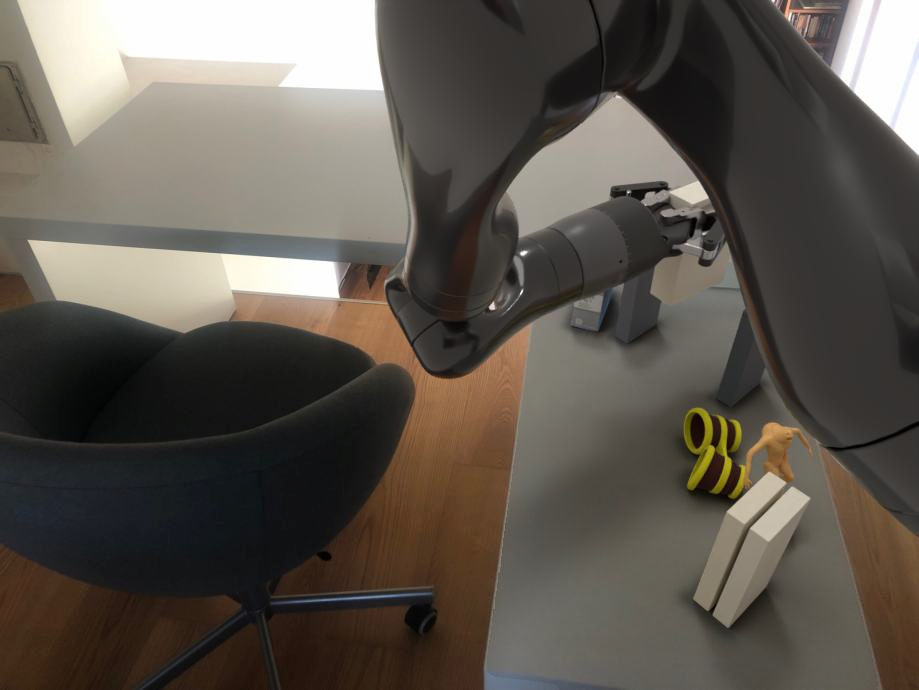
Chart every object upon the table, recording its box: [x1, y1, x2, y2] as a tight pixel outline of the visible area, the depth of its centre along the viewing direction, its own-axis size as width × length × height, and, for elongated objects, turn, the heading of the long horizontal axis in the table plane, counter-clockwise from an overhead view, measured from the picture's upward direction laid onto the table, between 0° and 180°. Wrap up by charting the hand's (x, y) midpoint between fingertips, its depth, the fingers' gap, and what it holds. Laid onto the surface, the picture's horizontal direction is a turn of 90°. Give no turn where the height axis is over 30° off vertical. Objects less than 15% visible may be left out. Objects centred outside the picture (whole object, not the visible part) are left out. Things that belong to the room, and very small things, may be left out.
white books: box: [692, 472, 812, 629], centre depth 58 cm, size 4×6×13 cm, turn 130°
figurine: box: [742, 422, 813, 498], centre depth 64 cm, size 8×6×12 cm
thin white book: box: [650, 180, 731, 308], centre depth 71 cm, size 3×8×12 cm, turn 123°
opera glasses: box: [683, 407, 745, 500], centre depth 71 cm, size 10×5×5 cm, turn 169°
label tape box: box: [570, 288, 614, 332], centre depth 89 cm, size 9×4×12 cm, turn 159°
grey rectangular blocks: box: [614, 267, 766, 408], centre depth 81 cm, size 17×6×13 cm, turn 40°
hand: (725, 196), depth 70 cm, fingers closed on thin white book, 3 cm apart
